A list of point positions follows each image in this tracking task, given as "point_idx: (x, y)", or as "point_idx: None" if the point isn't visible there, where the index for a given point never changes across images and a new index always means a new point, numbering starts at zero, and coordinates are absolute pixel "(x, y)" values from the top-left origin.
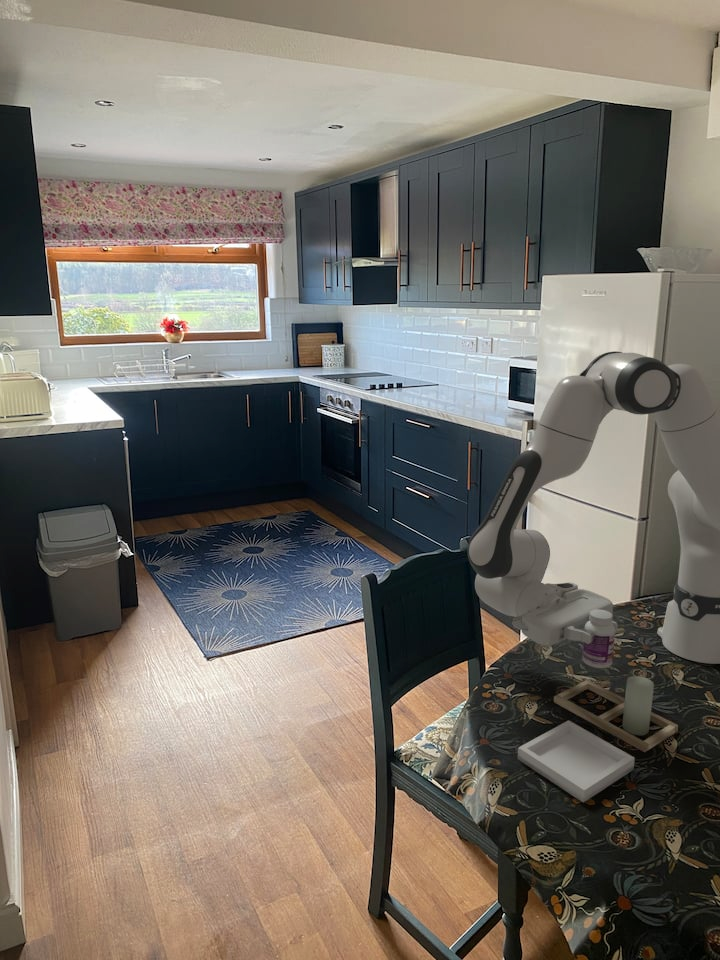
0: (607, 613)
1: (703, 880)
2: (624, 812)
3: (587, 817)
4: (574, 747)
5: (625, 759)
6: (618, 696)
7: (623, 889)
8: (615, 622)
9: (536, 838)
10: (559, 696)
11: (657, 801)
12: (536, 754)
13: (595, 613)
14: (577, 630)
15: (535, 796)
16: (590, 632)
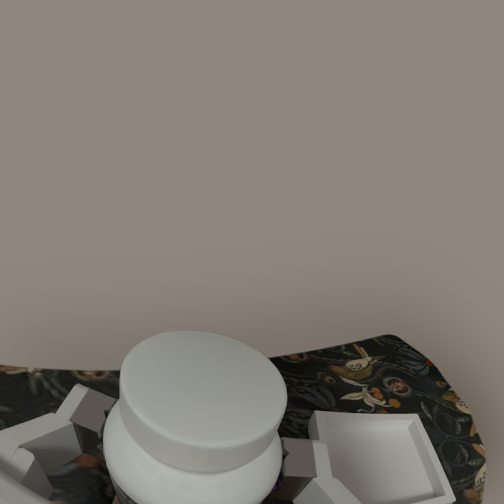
0: (171, 349)
1: (366, 343)
2: (375, 399)
3: (414, 413)
4: (360, 486)
5: (330, 416)
6: (117, 501)
7: (424, 366)
8: (79, 387)
9: (465, 418)
10: None
11: (329, 387)
12: (440, 479)
13: (232, 404)
14: (346, 495)
15: (449, 453)
16: (296, 449)
